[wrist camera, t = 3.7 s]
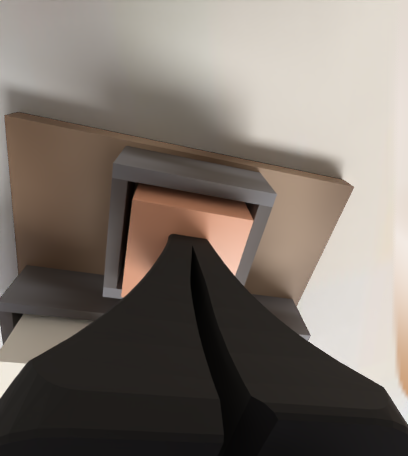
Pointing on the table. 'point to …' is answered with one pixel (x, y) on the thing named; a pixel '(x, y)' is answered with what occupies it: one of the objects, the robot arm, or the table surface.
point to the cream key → (33, 342)
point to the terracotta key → (181, 227)
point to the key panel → (121, 211)
